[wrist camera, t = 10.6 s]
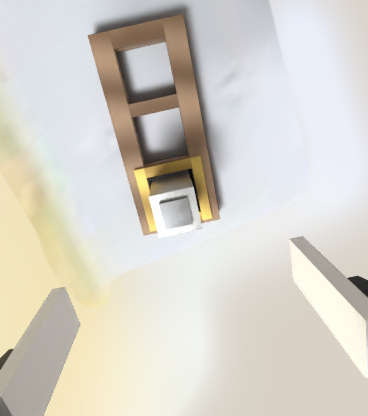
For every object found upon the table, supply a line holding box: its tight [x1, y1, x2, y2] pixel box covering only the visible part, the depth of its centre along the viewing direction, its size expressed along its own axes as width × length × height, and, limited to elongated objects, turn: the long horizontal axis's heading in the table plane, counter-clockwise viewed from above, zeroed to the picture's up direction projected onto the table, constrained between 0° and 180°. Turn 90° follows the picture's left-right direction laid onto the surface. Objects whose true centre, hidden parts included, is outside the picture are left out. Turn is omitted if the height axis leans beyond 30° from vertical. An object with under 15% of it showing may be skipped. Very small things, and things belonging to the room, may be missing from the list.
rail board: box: [88, 14, 220, 235], centre depth 34 cm, size 23×10×2 cm, turn 12°
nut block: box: [149, 169, 202, 238], centre depth 33 cm, size 4×4×9 cm
